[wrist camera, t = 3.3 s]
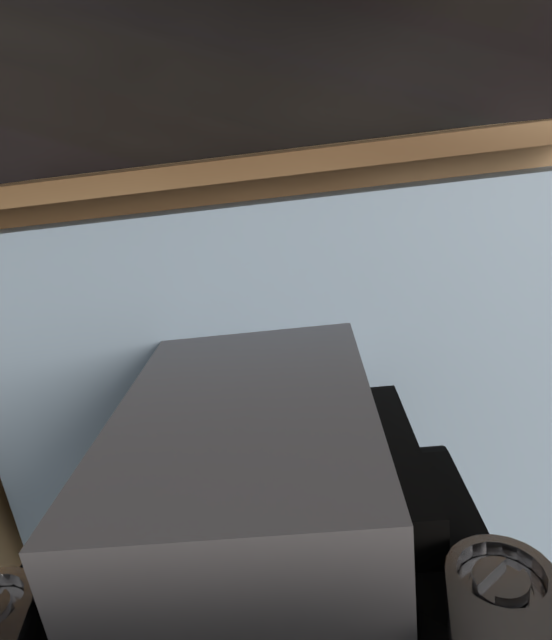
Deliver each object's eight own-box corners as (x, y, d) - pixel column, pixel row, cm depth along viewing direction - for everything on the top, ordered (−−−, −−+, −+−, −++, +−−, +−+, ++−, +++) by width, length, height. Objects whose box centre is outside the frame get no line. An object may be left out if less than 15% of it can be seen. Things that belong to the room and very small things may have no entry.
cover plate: (534, 561, 14) (758, 951, 7) (65, 590, 15) (-125, 961, 8) (557, 164, 10) (1010, 202, 4) (-48, 235, 11) (-526, 361, 5)
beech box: (469, 459, 20) (568, 637, 13) (114, 486, 21) (20, 666, 14) (471, 126, 16) (614, 112, 9) (35, 179, 17) (-154, 205, 10)
